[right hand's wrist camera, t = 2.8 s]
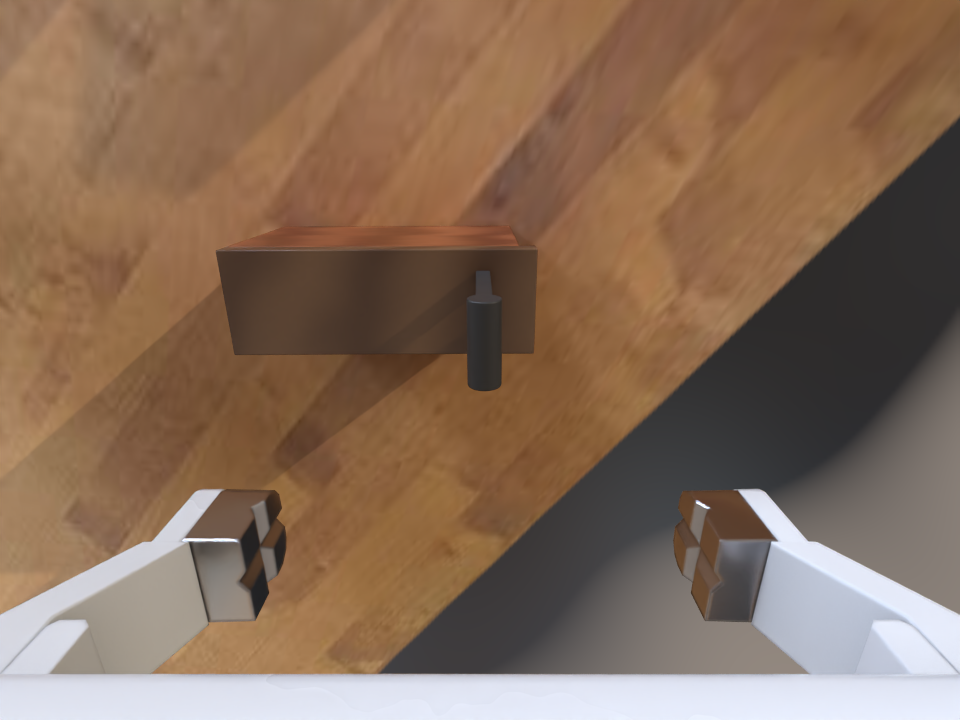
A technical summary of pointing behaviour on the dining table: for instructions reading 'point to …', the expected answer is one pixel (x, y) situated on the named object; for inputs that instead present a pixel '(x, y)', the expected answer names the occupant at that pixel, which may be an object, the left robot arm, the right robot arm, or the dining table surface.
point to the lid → (383, 302)
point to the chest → (384, 236)
